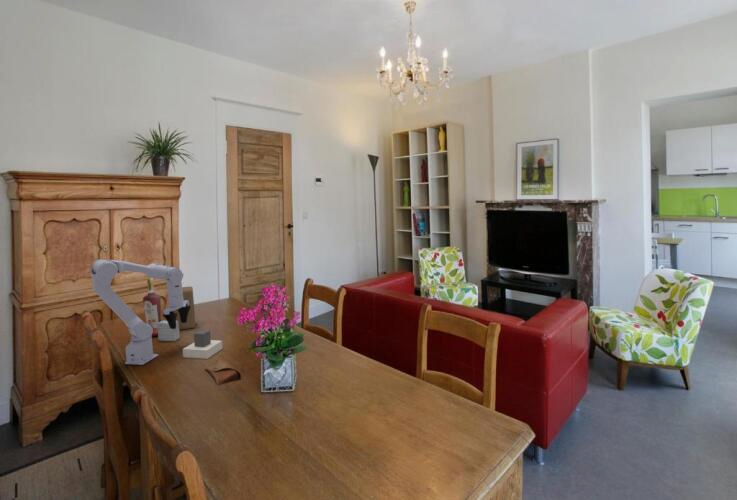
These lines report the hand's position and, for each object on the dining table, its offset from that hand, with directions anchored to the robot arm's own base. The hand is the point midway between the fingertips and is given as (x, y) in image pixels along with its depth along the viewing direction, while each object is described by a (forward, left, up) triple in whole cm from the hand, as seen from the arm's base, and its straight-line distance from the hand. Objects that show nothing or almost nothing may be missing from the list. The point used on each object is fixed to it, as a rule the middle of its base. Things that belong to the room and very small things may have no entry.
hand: (178, 325), depth 168 cm
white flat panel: (-3, -13, -11) cm, 17 cm away
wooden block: (+28, +16, -11) cm, 34 cm away
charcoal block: (-3, -13, -7) cm, 15 cm away
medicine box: (+10, +12, -11) cm, 19 cm away
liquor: (+15, +23, -11) cm, 29 cm away
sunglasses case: (-21, -31, -11) cm, 39 cm away
